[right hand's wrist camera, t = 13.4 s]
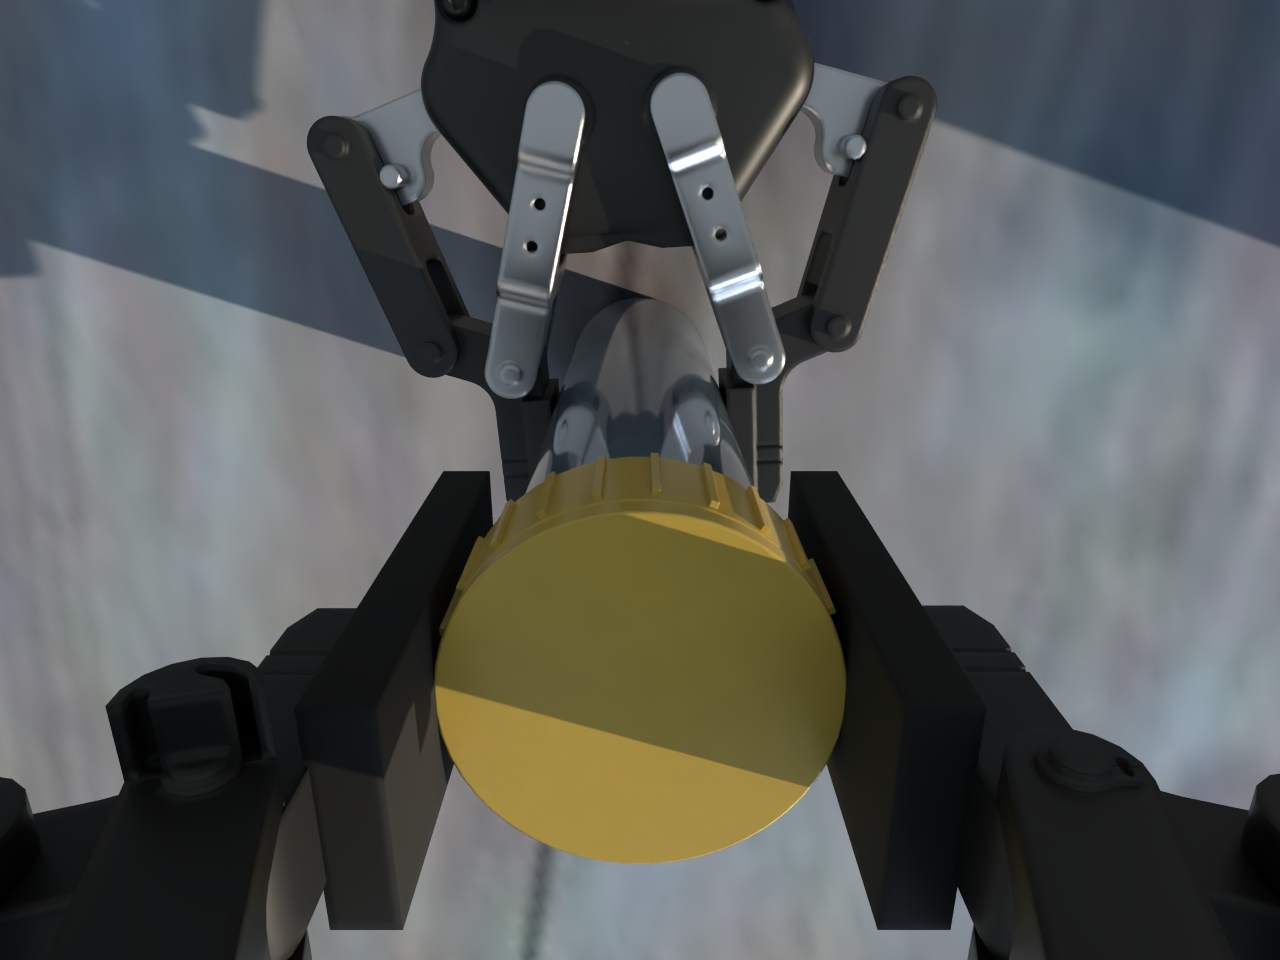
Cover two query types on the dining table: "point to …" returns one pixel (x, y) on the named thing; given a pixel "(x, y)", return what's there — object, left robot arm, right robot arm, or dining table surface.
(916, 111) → the left robot arm
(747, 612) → the lid
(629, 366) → the clear plastic cylinder
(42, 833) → the right robot arm
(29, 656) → the dining table surface
